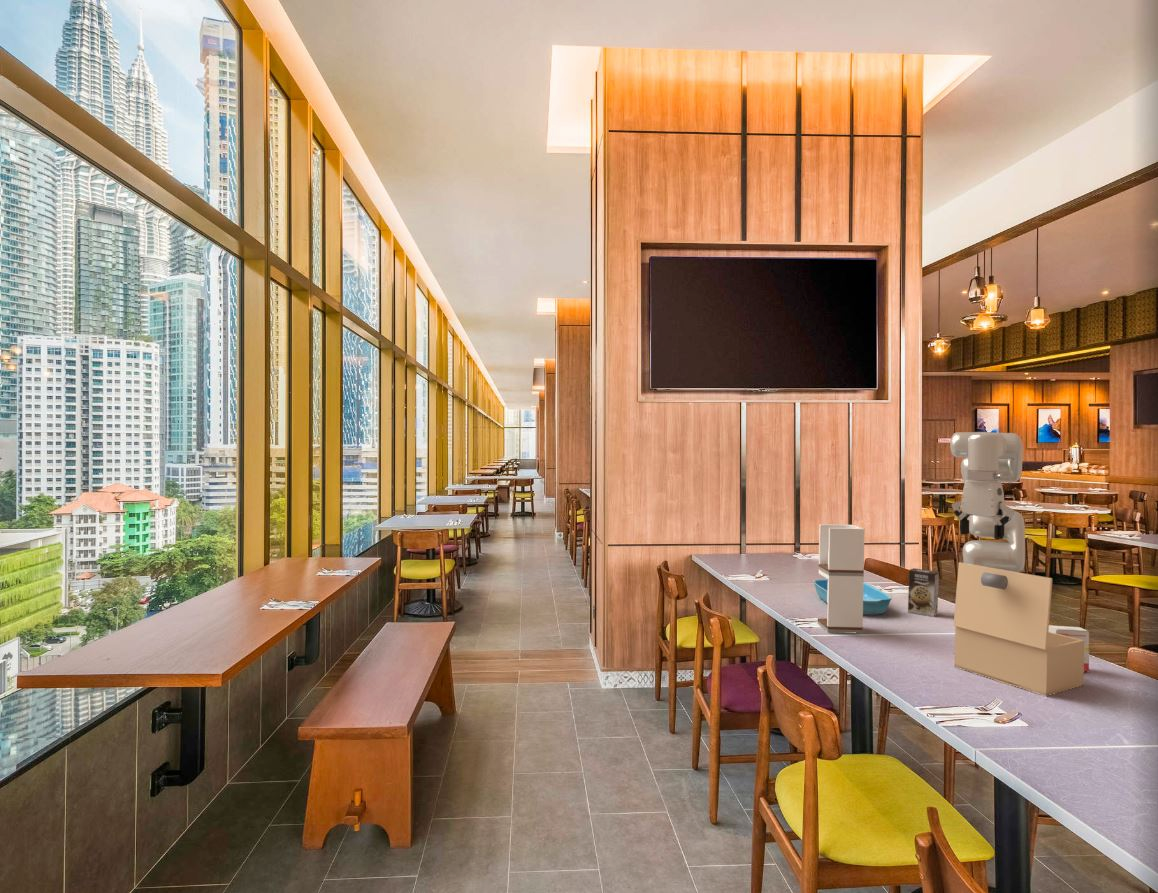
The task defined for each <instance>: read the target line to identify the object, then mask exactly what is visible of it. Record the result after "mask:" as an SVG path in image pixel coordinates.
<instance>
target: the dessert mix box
mask: <svg viewBox="0 0 1158 893" xmlns="http://www.w3.org/2000/svg"><path fill="white" fill-rule="evenodd" d="M939 576H940V572H939V571H935V570H928V569H923V568H922V569H920V568H915V567H914V568H910V569H909V571H908V596H907V597H908V599H907V601H908V602H907V603H908V604H907V613H911V614H915V613H916V615H920V614H922V615H921V616H926V615H928V616H927V617H932V616H934V615H935V616H936V614H937V613H938V614H939V612H938V606H939V605H938V604H939V582H940V580H939V578H940V577H939ZM938 614H937V615H938ZM935 616H934V617H935Z"/></svg>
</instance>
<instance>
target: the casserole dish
mask: <svg viewBox="0 0 1158 893" xmlns="http://www.w3.org/2000/svg"><path fill="white" fill-rule="evenodd" d="M813 585H814V588H815V591H816V595H817V596H818V597H819V598H820V599H821V600H822V601H824V602H825V603H826V604H828V603H827V592H828V579H827V578H818V579H814V580H813ZM891 600H892V596H890V595H889V594H888V593H886V592H884V591H882V590H880V589H879V588H877V587H875V586H873V585H871V584H869V583H867V582H865V581H864V582H863V615H872V616H873V615H882V614H884V613H885V612H886V611H887V609H888V608H889V605H890V603H891Z"/></svg>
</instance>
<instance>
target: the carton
mask: <svg viewBox="0 0 1158 893" xmlns="http://www.w3.org/2000/svg"><path fill="white" fill-rule="evenodd" d="M954 628H955V629H954V631H955V632H954V668H955V667H957V668H956V669H958V668H961V669H963V670H962V671H964V670H967V671H970V672H973V673H976V674H975V675H977V674H979V675H978V676H980V675H982V676H981V677H983V676H985V677H984V678H986V677H988V678H987V679H989V678H991V679H990V680H992V679H994V680H993V681H995V680H996V681H995V682H998V681H999V683H1001V684H1002V683H1003V684H1005V683H1006V684H1005V685H1008V684H1009V685H1008V686H1011V685H1013V686H1012V687H1014V686H1016V687H1015V688H1017V687H1019V688H1018V689H1020V688H1023V689H1026V690H1025V691H1027V690H1029V691H1028V692H1030V691H1032V692H1031V693H1033V692H1036V693H1039V694H1042V695H1045V696H1047V695H1050V694H1053V695H1055V694H1054V693H1057V692H1060V693H1062V692H1061V691H1063V692H1066V691H1069V690H1068V689H1070V690H1072V688H1073V689H1075V687H1076V688H1080V687H1082V686H1081V685H1083V686H1084V680H1085V679H1084V678H1085V677H1084V674H1085V672H1084V640H1081V639H1076V638H1072V637H1068V636H1064V635H1060V634H1056V633H1051V632H1049V631H1048V642H1047V650H1044V649H1041V648H1037V647H1033V646H1029V645H1025V644H1022V643H1018V642H1014V641H1010V640H1006V639H1003V638H999V637H995V636H991V635H987V634H984V633H980V632H976V631H972V630H968V629H965V628H961V627H957V626H954ZM961 669H960V670H961ZM967 671H966V672H967ZM970 672H969V673H970ZM973 673H972V674H973ZM1079 686H1080V687H1079ZM1023 689H1022V690H1023ZM1065 690H1066V691H1065ZM1036 693H1035V694H1036ZM1039 694H1038V695H1039ZM1057 694H1058V693H1057ZM1042 695H1041V696H1042ZM1045 696H1044V697H1045ZM1050 696H1051V695H1050ZM1047 697H1048V696H1047Z"/></svg>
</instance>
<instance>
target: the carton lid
mask: <svg viewBox="0 0 1158 893" xmlns="http://www.w3.org/2000/svg"><path fill="white" fill-rule="evenodd" d="M1052 588H1053V578H1052V577H1048V576H1047V577H1046V576H1041V575H1035V574H1030V573H1023V572H1013V571H1007V570H1001V569H996V568H990V567H984V566H978V565H973V564H967V563H964V562H961V561H960V562H958V568H957V581H956V592H955V593H956V595H955V604H954V614H953V615H954V616H953V626H954V627H955V626H957V627H961V628H965V629H968V630H972V631H976V632H980V633H984V634H987V635H991V636H995V637H999V638H1003V639H1006V640H1010V641H1014V642H1018V643H1022V644H1025V645H1029V646H1033V647H1037V648H1041V649H1044V650H1047V642H1048V632H1049V625H1050V618H1051V617H1050V615H1051V604H1052V603H1051V601H1052V592H1053V591H1052V590H1053V589H1052Z"/></svg>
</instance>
